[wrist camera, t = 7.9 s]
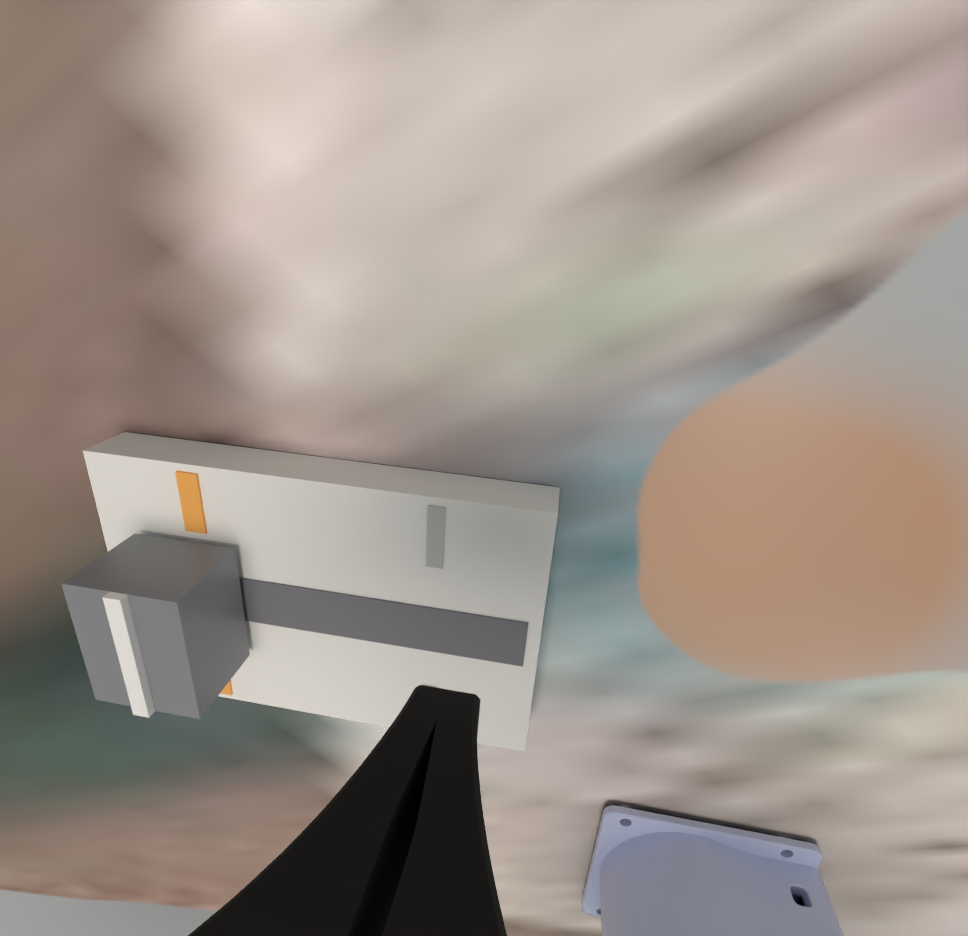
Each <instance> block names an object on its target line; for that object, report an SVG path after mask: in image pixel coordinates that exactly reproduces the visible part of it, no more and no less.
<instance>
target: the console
mask: <svg viewBox="0 0 968 936" xmlns="http://www.w3.org/2000/svg"><path fill="white" fill-rule="evenodd" d="M83 453H84V457H85V461H86V465H87V469H88V473H89V478H90V482H91V486H92V490H93V494H94V498H95V502H96V506H97V510H98V514H99V518H100V522H101V526H102V530H103V534H104V538H105V542H106V546H107V550H108V551H110V550H111V549H113V548H114V547H116V546H117V545H119V544H120V543H121V542H123V541H124V540H126V539H127V538H129V537H130V536H132V535H133V534H135V533H136V534H142V535H149V536H156V537H162V538H169V539H176V540H182V541H189V542H196V543H202V544H209V545H216V546H222V547H229V548H235V550H236V557H237V564H238V572H239V579H240V586H241V594H242V601H243V608H244V615H245V623H246V630H247V637H248V645H249V652H250V655H249V656H248V658H247V659H246V660H245V662H244V663H243V664H242V666H241V667H240V668H239V669H238V671H237V672H236V673H235V675H234V676H233V677H232V678H231V680H230V681H229V682H228V684H227V685H226V686H225V688H224V689H223V690H222V691H221V693H220V694H219V695H218V696H221V697H226V698H232V699H237V700H243V701H248V702H253V703H259V704H264V705H270V706H275V707H281V708H286V709H292V710H297V711H303V712H308V713H314V714H319V715H324V716H330V717H335V718H341V719H346V720H352V721H357V722H363V723H368V724H374V725H379V726H384V727H390V726H391V725H392V723H393V722H394V720H395V719H396V717H397V716H398V714H399V713H400V711H401V710H402V708H403V707H404V705H405V704H406V702H407V700H408V699H409V697H410V696H411V694H412V692H413V690H414V689H415V688H416V687H417V686H419V685H424V686H430V687H436V688H442V689H447V690H453V691H459V692H465V693H471V694H476V695H477V696H478V697H479V698H480V699H481V700H480V712H479V723H478V734H477V744H483V745H488V746H494V747H499V748H504V749H510V750H515V751H521V752H525V746H526V739H527V732H528V725H529V717H530V710H531V703H532V696H533V689H534V682H535V675H536V668H537V660H538V653H539V646H540V639H541V632H542V625H543V618H544V611H545V603H546V596H547V589H548V582H549V575H550V568H551V561H552V554H553V547H554V539H555V532H556V525H557V518H558V507H559V492H560V487H552V486H544V485H536V484H528V483H521V482H513V481H505V480H497V479H489V478H481V477H474V476H466V475H458V474H450V473H442V472H434V471H427V470H419V469H411V468H403V467H395V466H387V465H380V464H372V463H364V462H356V461H348V460H340V459H333V458H325V457H317V456H309V455H301V454H293V453H285V452H278V451H270V450H262V449H254V448H246V447H238V446H231V445H223V444H215V443H207V442H199V441H191V440H184V439H176V438H168V437H160V436H152V435H144V434H137V433H129V432H123V433H121V434H119V435H117V436H114V437H112V438H110V439H108V440H105V441H103V442H101V443H99V444H96V445H94V446H92V447H90V448H87V449H85V450H83Z"/></svg>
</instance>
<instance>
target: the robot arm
mask: <svg viewBox="0 0 968 936" xmlns="http://www.w3.org/2000/svg"><path fill="white" fill-rule="evenodd" d="M480 700H481V699H480V698H479V697H478V696H477V695H476V694H471V693H465V692H459V691H453V690H447V689H442V688H436V687H430V686H424V685H419V686H417V687H416V688H415V689H414V690H413V692H412V694H411V696H410V697H409V699H408V700H407V702H406V704H405V705H404V707H403V708H402V710H401V711H400V713H399V714H398V716H397V717H396V719H395V720H394V722H393V723H392V725H391V726H390V727H389V729H388V730H387V732H386V733H385V734H384V736H383V737H382V739H381V740H380V741H379V742H378V744H377V745H376V746H375V748H374V749H373V750H372V752H371V753H370V754H369V755H368V757H367V758H366V759H365V761H364V762H363V763H362V765H361V766H360V767H359V768H358V770H357V771H356V772H355V773H354V774H353V776H352V777H351V778H350V779H349V780H348V781H347V783H346V784H345V785H344V786H343V787H342V788H341V790H340V791H339V792H338V793H337V794H336V795H335V797H334V798H333V799H332V800H331V801H330V803H329V804H328V805H327V806H326V807H325V808H324V809H323V810H322V811H321V813H320V814H319V815H318V816H317V817H316V818H315V819H314V820H313V821H312V822H311V823H310V824H309V825H308V827H307V828H306V829H305V830H304V831H303V832H302V833H301V834H300V835H299V836H298V837H297V838H296V839H295V840H294V841H293V842H292V843H291V844H290V845H289V846H288V847H287V848H286V849H285V850H284V851H283V852H282V853H281V854H280V855H279V856H278V857H277V858H276V859H275V860H274V861H273V862H272V863H270V864H269V865H268V866H267V867H266V868H265V869H264V870H263V871H262V872H261V873H260V874H259V875H258V876H257V877H256V878H255V879H254V880H252V881H251V882H250V883H249V884H248V885H247V886H246V887H245V888H244V889H243V890H241V891H240V892H239V893H238V894H237V895H236V896H235V897H234V898H233V899H231V900H230V901H229V902H228V903H227V904H226V905H224V906H223V907H222V908H221V909H220V910H218V911H217V912H216V913H215V914H214V915H213V916H211V917H210V918H209V919H208V920H206V921H205V922H204V923H203V924H202V925H201V926H199V927H198V928H197V929H196V930H195V931H193V932H192V933H191V934H190V935H188V936H507V934H506V930H505V926H504V922H503V917H502V913H501V909H500V904H499V900H498V895H497V891H496V886H495V881H494V876H493V871H492V866H491V861H490V855H489V850H488V844H487V837H486V831H485V825H484V818H483V811H482V803H481V794H480V783H479V773H478V759H477V734H478V723H479V712H480ZM822 859H823V856H822V853H821V851H820V848H819V847H818V846H817V845H815V844H813V843H809V842H804V841H799V840H794V839H788V838H783V837H778V836H773V835H767V834H762V833H757V832H752V831H747V830H741V829H736V828H731V827H726V826H720V825H715V824H710V823H705V822H699V821H694V820H689V819H684V818H678V817H673V816H668V815H663V814H657V813H652V812H647V811H642V810H636V809H631V808H626V807H621V806H615V805H611V806H608V807H606V808H605V809H604V810H603V814H602V818H601V822H600V826H599V830H598V835H597V839H596V843H595V847H594V851H593V855H592V860H591V864H590V868H589V872H588V876H587V881H586V885H585V889H584V893H583V897H582V910H583V911H584V912H585V913H587V914H589V915H593V916H597V917H601V926H602V936H843V933H842V930H841V928H840V925H839V922H838V920H837V917H836V914H835V912H834V909H833V907H832V904H831V901H830V899H829V896H828V893H827V891H826V888H825V886H824V883H823V880H822V878H821V875H820V872H819V870H818V867H819V865H820V863H821V861H822Z"/></svg>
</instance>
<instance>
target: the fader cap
mask: <svg viewBox="0 0 968 936" xmlns="http://www.w3.org/2000/svg"><path fill="white" fill-rule="evenodd" d="M62 588H63V591H64V594H65V598H66V601H67V604H68V608H69V611H70V615H71V618H72V621H73V625H74V628H75V631H76V635H77V638H78V641H79V645H80V648H81V651H82V655H83V658H84V662H85V665H86V668H87V672H88V675H89V678H90V682H91V685H92V688H93V692H94V695H95V698H96V700H101V701H106V702H111V703H117V704H122V705H127V706H131V708H132V712H133V715H138V716H143V717H148V718H149V717H150V716H151V715H152V714H153V713H154V712H155V711H159V712H164V713H169V714H175V715H180V716H185V717H191V718H196V719H201V717H202V716H203V715H204V714H205V712H206V711H207V710H208V708H209V707H210V706H211V704H212V703H213V702H214V701H215V699H216V698H217V697H218V695H219V694H220V693H221V691H222V690H223V689H224V688H225V686H226V685H227V684H228V682H229V681H230V680H231V678H232V677H233V676H234V675H235V673H236V672H237V671H238V669H239V668H240V667H241V666H242V664H243V663H244V662H245V660H246V659H247V658H248V656H249V655H250V652H249V645H248V637H247V630H246V623H245V615H244V608H243V601H242V594H241V586H240V579H239V572H238V564H237V557H236V550H235V548H229V547H222V546H216V545H209V544H202V543H196V542H189V541H182V540H176V539H169V538H162V537H156V536H149V535H142V534H136V533H135V534H133V535H132V536H130V537H129V538H127V539H126V540H124V541H123V542H121V543H120V544H119V545H117V546H116V547H114V548H113V549H111V550H110V551H108V552H107V553H105V554H104V555H102V556H101V557H100V558H98V559H97V560H95V561H94V562H92V563H91V564H89V565H88V566H86V567H85V568H83V569H82V570H81V571H79V572H78V573H76V574H75V575H73V576H72V577H70V578H69V579H67V580H66V581H64V582H63V583H62Z"/></svg>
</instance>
